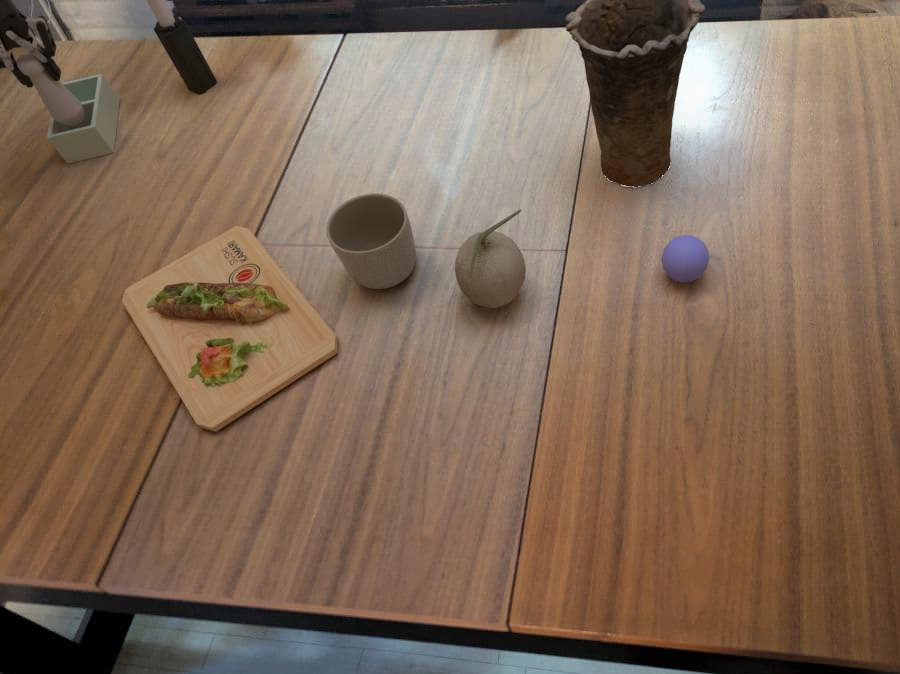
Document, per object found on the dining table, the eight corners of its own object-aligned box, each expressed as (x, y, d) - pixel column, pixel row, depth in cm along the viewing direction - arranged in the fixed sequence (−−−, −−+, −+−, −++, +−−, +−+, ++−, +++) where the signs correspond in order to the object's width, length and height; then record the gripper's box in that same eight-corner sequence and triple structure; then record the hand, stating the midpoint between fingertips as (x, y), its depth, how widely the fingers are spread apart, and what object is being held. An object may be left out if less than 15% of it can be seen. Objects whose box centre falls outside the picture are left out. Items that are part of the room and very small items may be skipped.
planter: (382, 312, 111) (361, 266, 102) (334, 275, 116) (309, 227, 107) (439, 265, 115) (423, 216, 106) (390, 231, 120) (370, 181, 111)
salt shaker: (63, 112, 137) (14, 49, 126) (92, 108, 137) (45, 44, 126) (56, 132, 134) (5, 69, 123) (85, 127, 134) (37, 64, 123)
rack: (67, 163, 138) (46, 138, 133) (76, 109, 147) (57, 83, 142) (114, 152, 138) (94, 126, 133) (120, 99, 147) (102, 73, 142)
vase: (649, 212, 116) (656, 61, 94) (559, 174, 123) (545, 25, 100) (704, 148, 123) (723, -7, 100) (616, 115, 130) (615, -37, 107)
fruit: (449, 316, 109) (427, 249, 96) (479, 262, 114) (462, 191, 102) (511, 333, 106) (497, 265, 94) (539, 277, 112) (529, 205, 99)
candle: (203, 74, 149) (134, -52, 127) (219, 81, 147) (151, -45, 126) (185, 88, 147) (112, -38, 126) (201, 95, 145) (129, -31, 124)
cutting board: (346, 349, 108) (329, 319, 101) (208, 439, 102) (181, 413, 95) (247, 228, 123) (226, 195, 117) (123, 300, 118) (94, 269, 111)
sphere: (670, 252, 112) (672, 220, 106) (712, 264, 110) (718, 232, 104) (653, 284, 109) (655, 252, 103) (697, 297, 107) (702, 265, 101)
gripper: (18, -36, 116) (85, 61, 131) (-69, -16, 116) (8, 78, 130) (12, -12, 112) (81, 84, 127) (-78, 8, 112) (2, 103, 126)
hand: (44, 81), depth 129 cm, fingers closed on salt shaker, 4 cm apart
